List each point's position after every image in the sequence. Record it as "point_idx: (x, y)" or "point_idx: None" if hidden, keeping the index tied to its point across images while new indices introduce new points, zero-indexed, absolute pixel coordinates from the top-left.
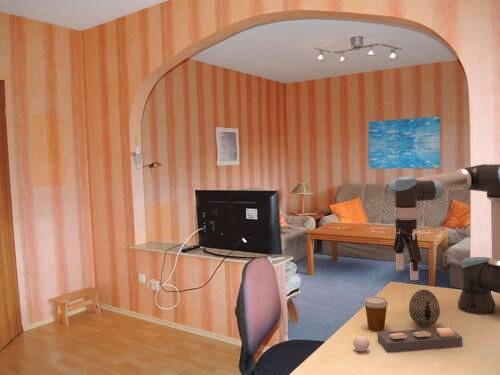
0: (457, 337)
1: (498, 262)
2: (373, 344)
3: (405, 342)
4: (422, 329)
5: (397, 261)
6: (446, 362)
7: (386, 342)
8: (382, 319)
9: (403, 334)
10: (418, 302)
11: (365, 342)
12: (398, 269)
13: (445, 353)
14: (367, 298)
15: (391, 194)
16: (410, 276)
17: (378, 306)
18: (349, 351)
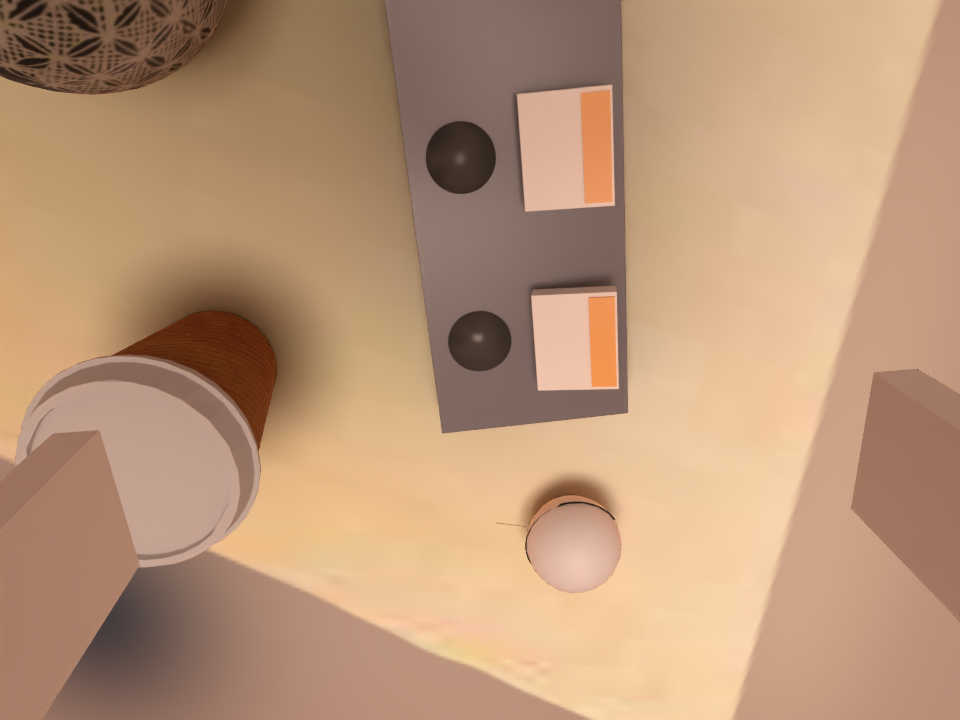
0: None
1: None
2: (486, 437)
3: (625, 293)
4: (408, 79)
5: (27, 718)
6: (811, 64)
7: (607, 413)
8: (252, 369)
9: (604, 311)
10: (123, 19)
11: (615, 540)
12: (122, 543)
13: (685, 7)
14: None
15: None
16: (903, 544)
17: (252, 462)
18: None
